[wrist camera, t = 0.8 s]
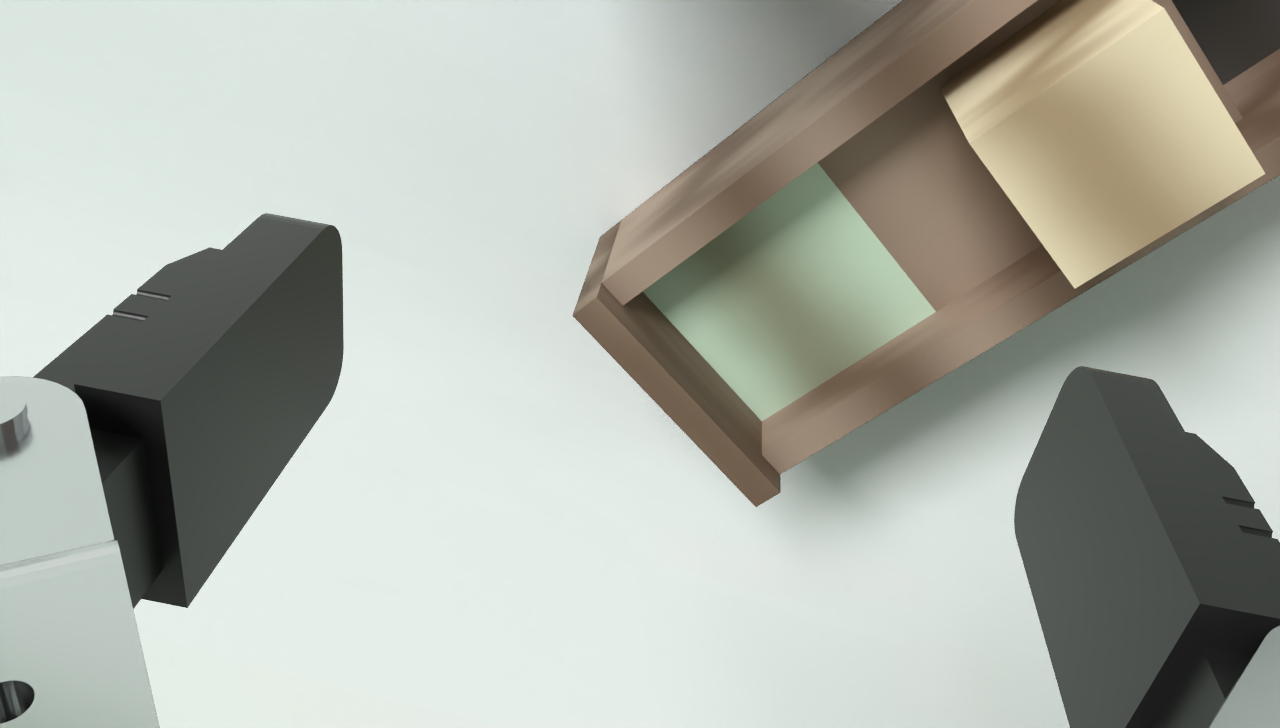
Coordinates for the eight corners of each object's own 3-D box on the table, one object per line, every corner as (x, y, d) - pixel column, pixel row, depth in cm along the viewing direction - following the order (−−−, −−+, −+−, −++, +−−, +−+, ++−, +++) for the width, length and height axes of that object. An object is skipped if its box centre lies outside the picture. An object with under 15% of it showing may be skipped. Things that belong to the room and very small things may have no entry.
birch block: (1102, -31, 27) (1164, 8, 23) (1191, 112, 29) (1265, 174, 25) (939, 88, 29) (969, 143, 25) (1032, 216, 31) (1074, 288, 27)
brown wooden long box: (1282, -297, 27) (1405, -311, 21) (1423, -17, 29) (1562, 30, 24) (600, 237, 36) (572, 315, 31) (757, 408, 39) (755, 506, 34)
